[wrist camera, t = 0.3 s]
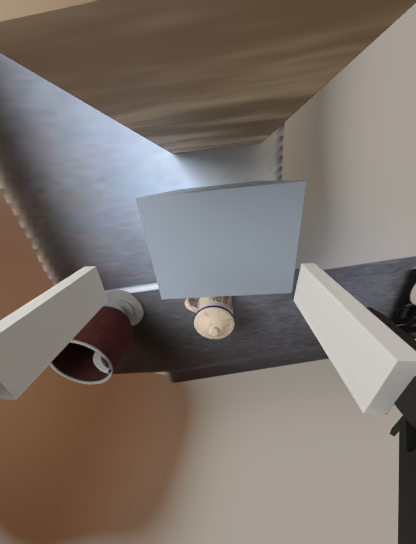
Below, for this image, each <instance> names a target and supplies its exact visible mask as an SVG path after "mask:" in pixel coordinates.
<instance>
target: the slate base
mask: <svg viewBox="0 0 416 544" xmlns="http://www.w3.org/2000/svg"><path fill="white" fill-rule="evenodd" d="M306 182H307V181H256V182H246V183H237V184H227V185H218V186H208V187H199V188H189V189H180V190H174V191H169V192H164V193H159V194H154V195H150V196H145V197H140V198H136V201H137V205H138V209H139V213H140V217H141V220H142V224H143V228H144V232H145V236H146V240H147V244H148V248H149V252H150V256H151V259H152V263H153V267H154V271H155V275H156V279H157V283H158V287H159V291H160V295H161V299H177V298H198V297H219V296H240V295H261V294H282V293H292V288H293V280H294V273H295V265H296V258H297V250H298V242H299V235H300V228H301V220H302V213H303V204H304V197H305V190H306Z"/></svg>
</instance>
